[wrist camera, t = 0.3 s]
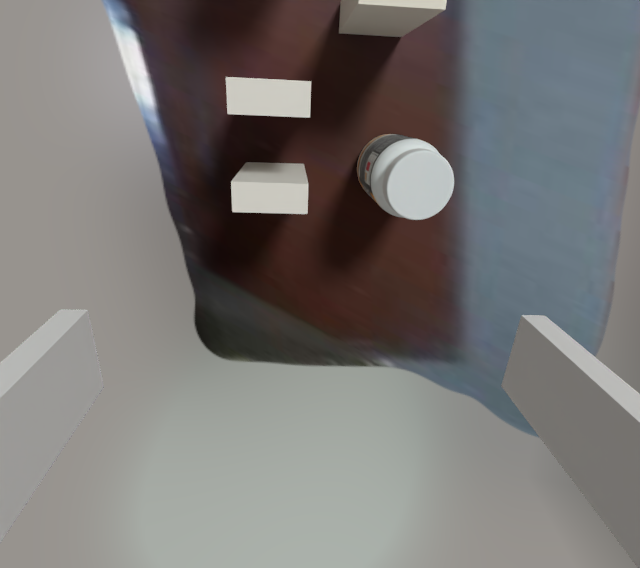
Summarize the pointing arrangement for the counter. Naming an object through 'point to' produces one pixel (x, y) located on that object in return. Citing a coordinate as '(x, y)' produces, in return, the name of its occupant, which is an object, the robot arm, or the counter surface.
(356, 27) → the domino
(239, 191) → the domino
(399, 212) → the pill bottle
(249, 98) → the domino
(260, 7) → the counter surface
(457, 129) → the counter surface
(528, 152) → the counter surface
